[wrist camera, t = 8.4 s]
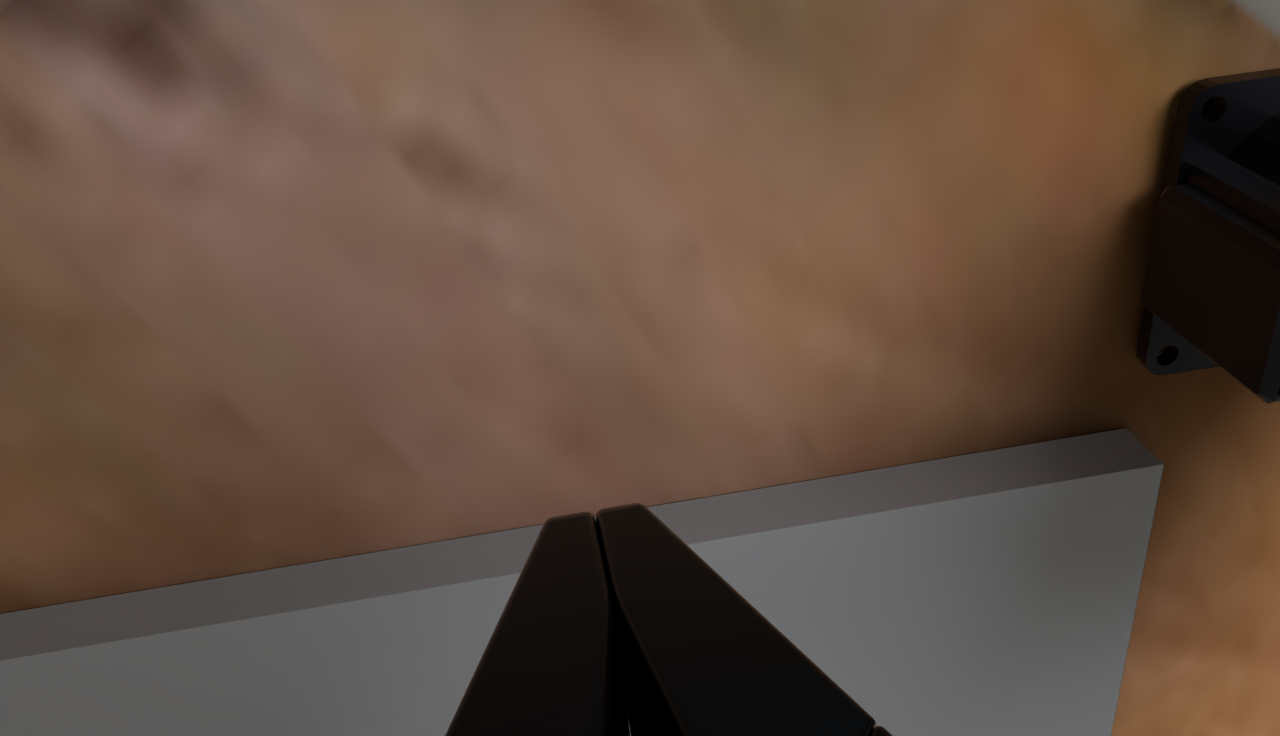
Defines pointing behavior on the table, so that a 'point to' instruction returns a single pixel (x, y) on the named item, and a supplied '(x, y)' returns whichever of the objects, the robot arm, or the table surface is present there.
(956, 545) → the dial plate
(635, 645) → the robot arm
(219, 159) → the table surface
